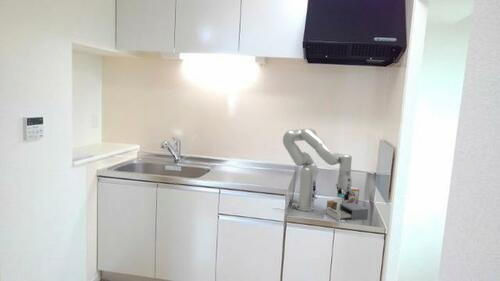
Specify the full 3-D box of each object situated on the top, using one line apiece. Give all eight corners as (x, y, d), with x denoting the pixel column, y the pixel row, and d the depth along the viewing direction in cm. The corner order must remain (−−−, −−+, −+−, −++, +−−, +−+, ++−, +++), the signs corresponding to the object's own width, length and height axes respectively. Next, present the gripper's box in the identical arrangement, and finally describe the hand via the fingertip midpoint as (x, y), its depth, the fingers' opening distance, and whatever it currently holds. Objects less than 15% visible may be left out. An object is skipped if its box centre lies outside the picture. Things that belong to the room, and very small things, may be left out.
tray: (338, 220, 217) (339, 213, 216) (326, 213, 230) (327, 206, 229) (354, 219, 222) (355, 212, 222) (342, 212, 235) (342, 205, 234)
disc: (350, 197, 222) (350, 195, 222) (341, 198, 220) (341, 196, 220) (344, 195, 228) (344, 193, 228) (336, 195, 226) (336, 193, 226)
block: (330, 210, 238) (331, 202, 237) (326, 208, 243) (327, 200, 242) (336, 210, 240) (337, 202, 239) (332, 208, 245) (333, 200, 244)
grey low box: (351, 220, 221) (353, 210, 220) (339, 213, 234) (340, 203, 233) (367, 218, 226) (368, 208, 225) (353, 212, 239) (354, 202, 238)
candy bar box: (341, 208, 244) (343, 187, 243) (341, 206, 249) (343, 185, 248) (357, 211, 242) (359, 189, 240) (356, 208, 247) (358, 187, 245)
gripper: (357, 175, 216) (355, 201, 217) (341, 170, 232) (339, 194, 233) (348, 175, 213) (346, 202, 215) (332, 170, 229) (330, 195, 231)
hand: (342, 198), depth 224 cm, fingers closed on disc, 6 cm apart
